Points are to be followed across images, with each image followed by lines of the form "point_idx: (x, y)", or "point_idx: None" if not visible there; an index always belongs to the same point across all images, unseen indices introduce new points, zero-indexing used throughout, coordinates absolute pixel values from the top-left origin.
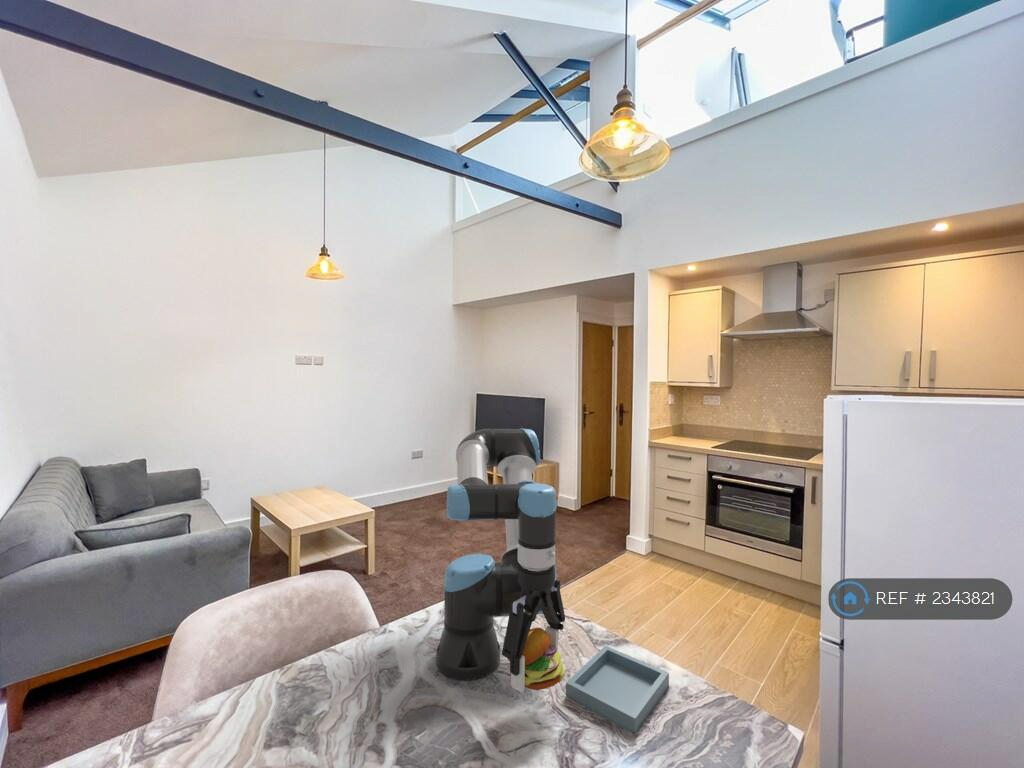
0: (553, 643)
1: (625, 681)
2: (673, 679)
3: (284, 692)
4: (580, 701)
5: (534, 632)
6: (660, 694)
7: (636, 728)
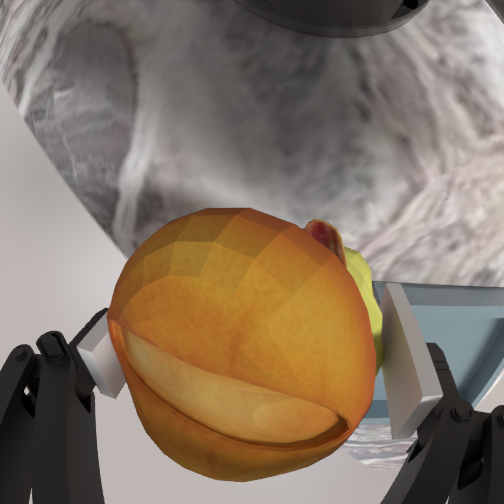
0: (389, 376)
1: (460, 356)
2: None
3: None
4: None
5: (212, 466)
6: None
7: None
